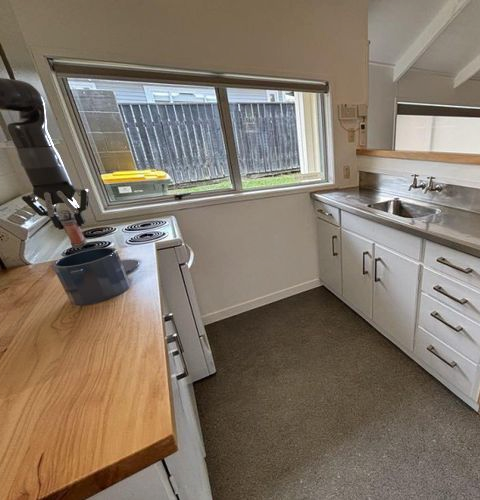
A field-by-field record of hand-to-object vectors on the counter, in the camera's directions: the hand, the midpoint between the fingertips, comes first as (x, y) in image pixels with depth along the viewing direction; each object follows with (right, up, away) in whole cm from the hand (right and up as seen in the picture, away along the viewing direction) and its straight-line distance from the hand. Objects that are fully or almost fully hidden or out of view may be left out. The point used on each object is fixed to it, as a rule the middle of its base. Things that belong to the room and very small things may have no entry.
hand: (71, 226), depth 81 cm
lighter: (0, -5, +2) cm, 5 cm away
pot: (+2, -20, +8) cm, 22 cm away
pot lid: (-7, -14, +23) cm, 28 cm away
